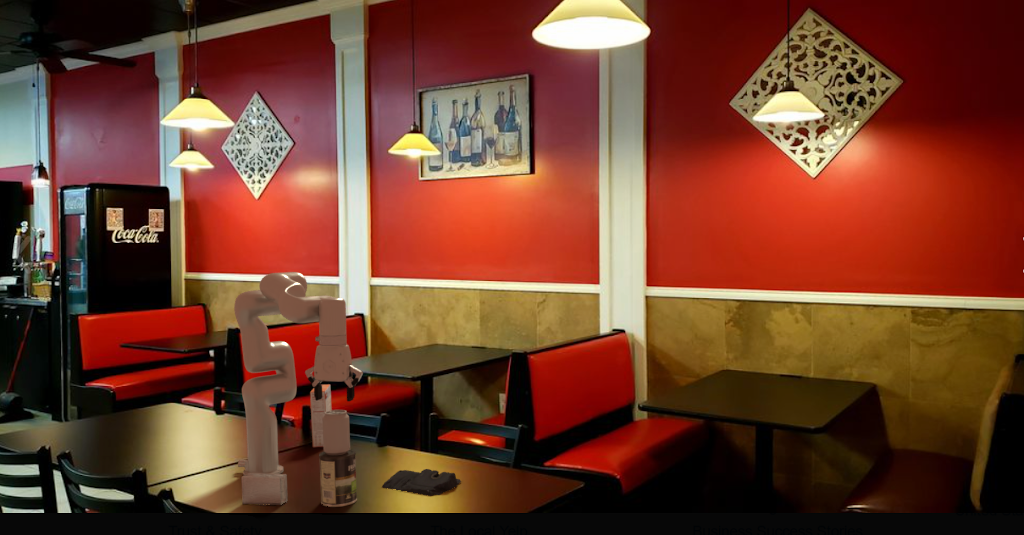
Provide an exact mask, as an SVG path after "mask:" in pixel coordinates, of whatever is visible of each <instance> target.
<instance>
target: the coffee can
mask: <svg viewBox="0 0 1024 535" xmlns="http://www.w3.org/2000/svg"><path fill="white" fill-rule="evenodd" d="M356 453H357V452H356V451H355V450H354V449H352V448H350V450H349V451H348V452H347V453H346V454H343V455H327V454H326V453H325V452H324V451H321V452H319V454H318V457H319V473H320V474H319V476H320V478H319V479H320V503H321V505H322V504H323V505H322V506H324V507H327V506H328V508H329V507H330V508H339V507H346V506H347V507H348V506H349V505H353V504H354V503H356V502H357V501H358V497H357V496H358V495H357V493H358V492H357V469H356V468H357V466H356Z"/></svg>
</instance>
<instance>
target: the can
mask: <svg viewBox="0 0 1024 535" xmlns="http://www.w3.org/2000/svg"><path fill="white" fill-rule="evenodd" d="M347 413H348V412H347V410H345V409H332V410H331V411H327V412H325V416H324V417H323V447H322V448H323V452H325V453H326V454H327V455H343V454H346V453H347V452H348V451H349V450H350V449H351V437H350V433H351V432H350V431H351V430H350V416H349V415H348V414H347Z"/></svg>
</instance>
